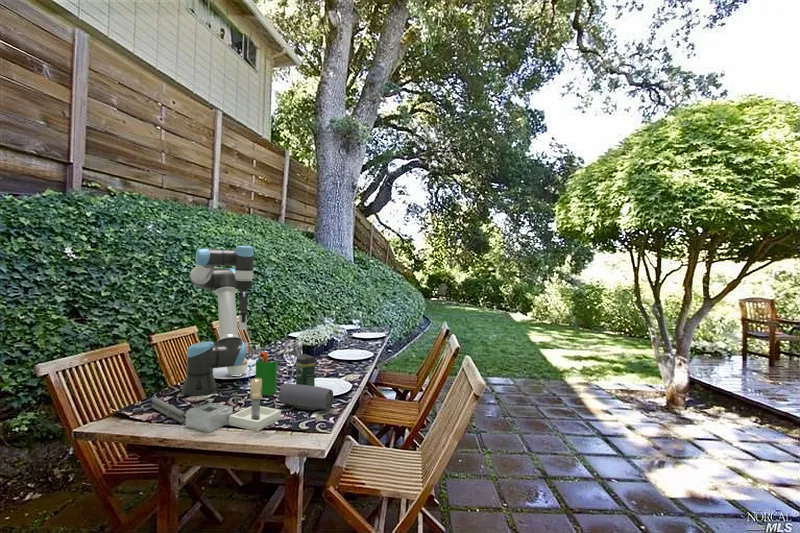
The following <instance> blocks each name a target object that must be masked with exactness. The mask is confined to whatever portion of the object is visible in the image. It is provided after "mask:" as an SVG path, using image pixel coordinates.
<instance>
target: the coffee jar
mask: <svg viewBox="0 0 800 533" xmlns="http://www.w3.org/2000/svg"><path fill="white" fill-rule="evenodd" d="M295 360H296V361H295V363H296V377H295V378H296V380H295V384H299V385H308V386H316V385H315V367H316V357H314V356H312V355H308V354H306V353H304V354H303V353H302V354H298V355H297V356H296V359H295Z"/></svg>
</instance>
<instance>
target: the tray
mask: <svg viewBox="0 0 800 533" xmlns="http://www.w3.org/2000/svg"><path fill="white" fill-rule="evenodd" d="M251 411H252V405H251V406H248V407H246V408H244V409H241V410H239V411H237V412H235V413H233V414H232V415H230V416H229V424H228V425H229V426H233V427H237V428H242V429H246V430H250V431H255V432H259V431H260V430H262V429H265V428H266V427H268V426H270V425H272V424H274V423H275V422H277V421H279V420H281V418H282V409H278V408H277V409H276V408H272V407H266V406H261V405H260V419H259V420H253V419H251Z"/></svg>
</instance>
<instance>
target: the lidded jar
mask: <svg viewBox="0 0 800 533" xmlns="http://www.w3.org/2000/svg"><path fill="white" fill-rule="evenodd" d="M247 367H248V360H246V359H244V362H243V363H242V364H241V365H239V366H234V367H233V366H232V367H226V370H227V372H228V375H230V376H231V375H240V374H243V373H244V374H245V372H246V371H247ZM244 374H243V375H244Z"/></svg>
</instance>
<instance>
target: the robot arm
mask: <svg viewBox="0 0 800 533" xmlns="http://www.w3.org/2000/svg"><path fill="white" fill-rule="evenodd" d="M254 252H255V251H254V246H251V245H236V247H235V249H221V248H220V249H219V248H218V249H216V248H215V249H214V248H197V249H196V251H195V264H196V265H195V267H193V268H191V271H190V273H189V279H190V282H191V283H192V284H193V285H194V286H195V287H197V288H200V289H203V290H212V291H213V292H214V293H213V294H215V295H216V296H217V306H218V323H219V324H218V325H219V339H218V340H217V342H216V344H215V343H214V341H200V342H197V343H193V344H191V345H189V346H188V348H187V350H186V351H187V352H186V376H185V380H184V383H183V386H182V387H181V394H183V395H185V396H194V397H196V396H204V395H208V394H212V393H214V392H216V390H217V383H216V380H215V377H214V369H221V368H227V367H232V366H233V367H234V366H239V365H241V364H242V363H243V362H244V360H246V359H245V358H246V353H247V352H246V351H247V344H246V342H244V341H242V337H240V336H239V331H247V330H248V329H247V328H248V327H247V324H248V322H247V321H248V300H249V292H247V291H248V290H252V289H253V285H254V284H253V282H254V281H252V280H253V279H254V256H255V253H254ZM219 266H220V267H221V266H222V267H221V268H220V267H219ZM226 267H227V268H226ZM230 267H234V268H230ZM238 291H239V292H238ZM237 293H238V301H239V306H238V310H239V311H238V316H237V308H236V307H237V305H236V294H237ZM237 317H238V318H237ZM238 326H239V328H238ZM238 330H239V331H238Z"/></svg>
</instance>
